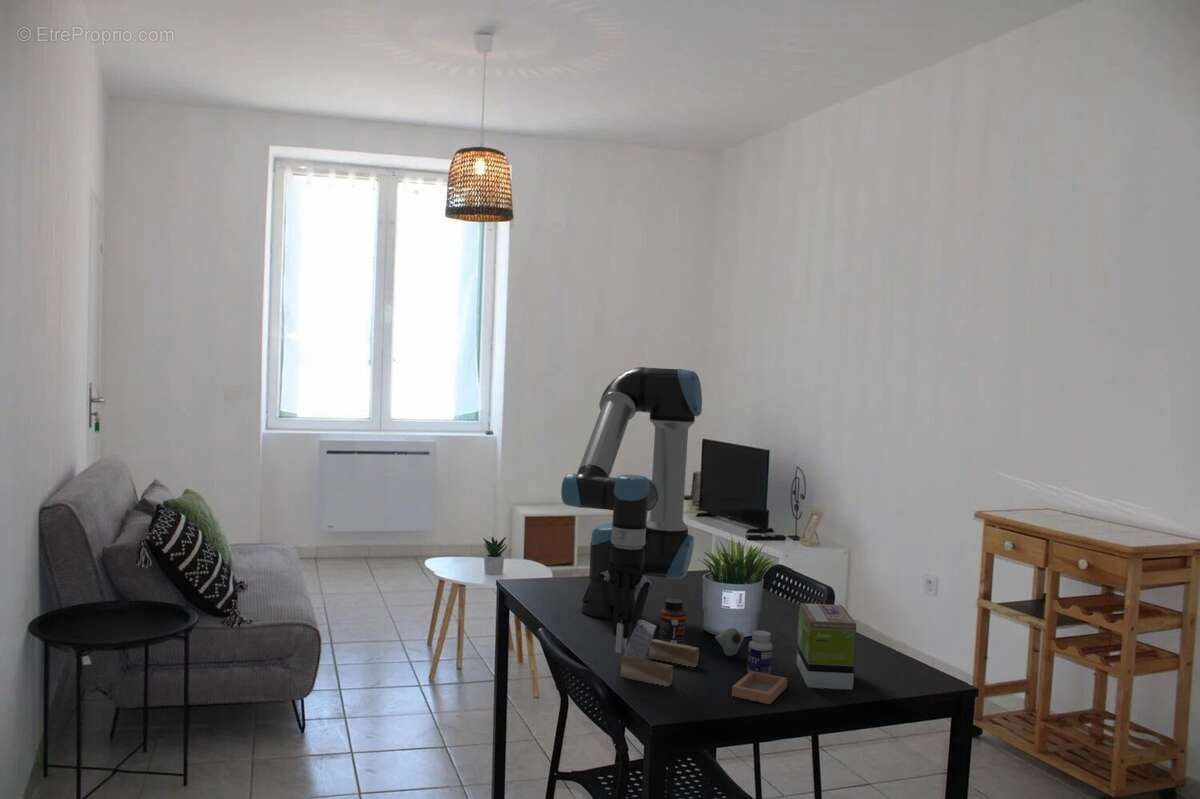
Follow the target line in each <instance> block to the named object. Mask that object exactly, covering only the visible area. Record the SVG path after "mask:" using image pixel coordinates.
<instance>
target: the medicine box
mask: <svg viewBox="0 0 1200 799" xmlns="http://www.w3.org/2000/svg"><path fill="white" fill-rule="evenodd" d="M657 628H658V627H657V625H655V624H653V623H651V622H649V621H647V620H644V619H641V618H640V620H639V621H637V623H636V625H635V627H634V628H633V630H632V632H631V635H630V637H629V638H630V639H629V640H628V644H627V645H626V651H624V653H623V656H622V658H623V657H624V656H628V657H633V658H638V659H643V660H646V659H645V658H646V656H647V654H648V651H649V650H650V644H651V641H652V640H653V639H654V635H655V633H656V630H657Z"/></svg>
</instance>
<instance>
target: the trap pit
mask: <svg viewBox="0 0 1200 799" xmlns="http://www.w3.org/2000/svg"><path fill="white" fill-rule="evenodd" d="M787 686H788V677H784V676H779V675H774V674H765V673H760V672H754V671H750V672H747V673H746V674H745V675H744V676H743V677H742V678H740V679H739V680H738V681H737V682H736V683H735V684H734V685H733V686H732V687H731V688H732V689H731V697H733V696H735V697H734V698H738V697H739V699H744V700H747V699H748V700H749V701H753V702H757V701H758V702H757V703H762V704H766V705H770V704H772V702H774V700H776V699H777V698H778V696H780V694H781V693H783V692H784V691H785V690H786V689H787V688H788V687H787ZM748 700H747V701H748Z"/></svg>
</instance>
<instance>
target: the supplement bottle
mask: <svg viewBox="0 0 1200 799" xmlns="http://www.w3.org/2000/svg"><path fill="white" fill-rule="evenodd" d="M686 616H687V613H686V611H685V610H684V608H683V600H682V599H678V598H665V604H664V607H663V608H662V609H661V610H660V617H659V632H658V633H659V634H658V635H659V636H658V640H661V641H666V642H671V643H676V644H682V645H685V632H686V622H687V621H686V619H687V617H686Z"/></svg>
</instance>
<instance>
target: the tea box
mask: <svg viewBox="0 0 1200 799" xmlns="http://www.w3.org/2000/svg"><path fill="white" fill-rule="evenodd" d="M798 607H799V611H798V626H797V628H798V629H797V630H798V632H797V649H796V650H797V651H796V652H797V653H796V666H797V668H798V669H799V671H800V674H801V677H802V678H803V680H804V683H805V685H806V686H807V688H809V689H810V688H811V689H824V688H826V689H827V688H828V690H844V689H845V690H846V691H847V690H849V691H850V690H853V688H854V680H855V679H854V678H855V677H854V675H855V658H856V657H855V656H856V638H857V623H856V621H855V620H854V618H852V616H851V615H850V613H848V611H847V610H846V609H845V608H846V607H844V606H843V605H842V604H828V603H827V604H824V603H823V604H821V603H802V602H799V606H798ZM826 689H825V690H826Z"/></svg>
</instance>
